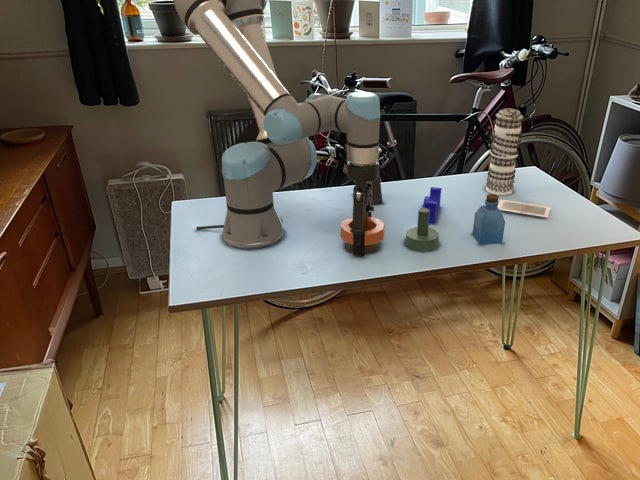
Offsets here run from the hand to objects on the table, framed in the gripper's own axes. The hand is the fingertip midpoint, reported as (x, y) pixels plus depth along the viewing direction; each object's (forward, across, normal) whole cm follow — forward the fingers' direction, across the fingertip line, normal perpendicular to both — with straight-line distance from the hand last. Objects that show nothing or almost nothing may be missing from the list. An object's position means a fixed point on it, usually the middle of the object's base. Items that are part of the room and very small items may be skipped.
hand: (362, 244), depth 149 cm
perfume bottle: (+1, +10, -32) cm, 34 cm away
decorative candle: (+1, +46, -37) cm, 59 cm away
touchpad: (+1, +30, -43) cm, 52 cm away
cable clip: (+1, +23, -16) cm, 28 cm away
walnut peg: (0, 0, 0) cm, 0 cm away
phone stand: (+1, +31, +3) cm, 31 cm away
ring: (-3, 0, 0) cm, 3 cm away
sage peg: (0, +4, -15) cm, 16 cm away
